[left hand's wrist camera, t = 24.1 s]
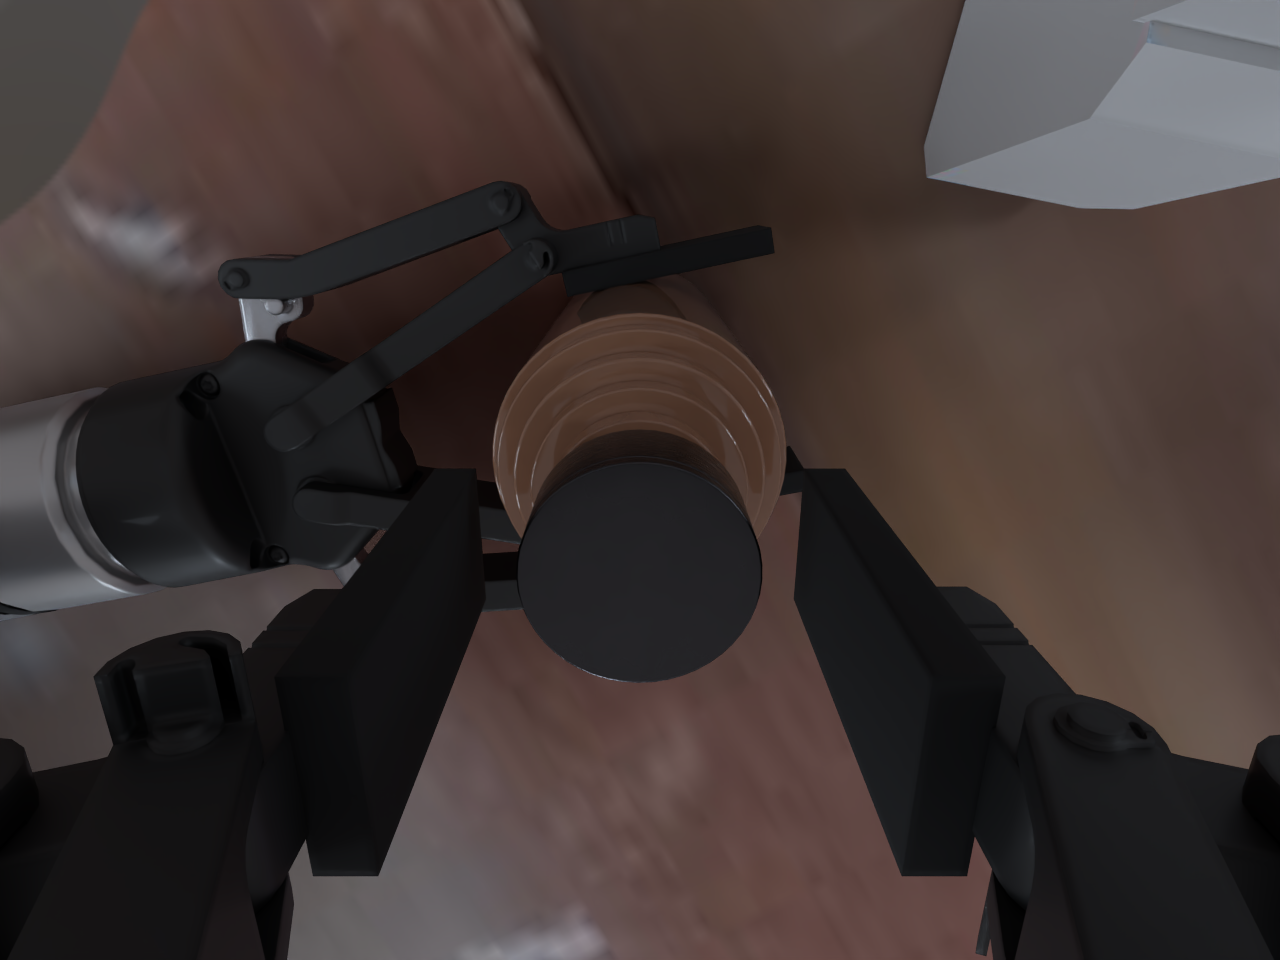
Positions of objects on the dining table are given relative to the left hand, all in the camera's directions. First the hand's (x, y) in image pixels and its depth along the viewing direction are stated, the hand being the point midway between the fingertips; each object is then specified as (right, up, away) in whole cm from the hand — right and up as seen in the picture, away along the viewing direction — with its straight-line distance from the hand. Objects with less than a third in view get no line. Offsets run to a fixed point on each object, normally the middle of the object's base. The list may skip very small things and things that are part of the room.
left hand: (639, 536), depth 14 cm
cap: (0, 0, -1) cm, 1 cm away
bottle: (0, +6, +18) cm, 19 cm away
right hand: (+5, +5, +11) cm, 13 cm away
